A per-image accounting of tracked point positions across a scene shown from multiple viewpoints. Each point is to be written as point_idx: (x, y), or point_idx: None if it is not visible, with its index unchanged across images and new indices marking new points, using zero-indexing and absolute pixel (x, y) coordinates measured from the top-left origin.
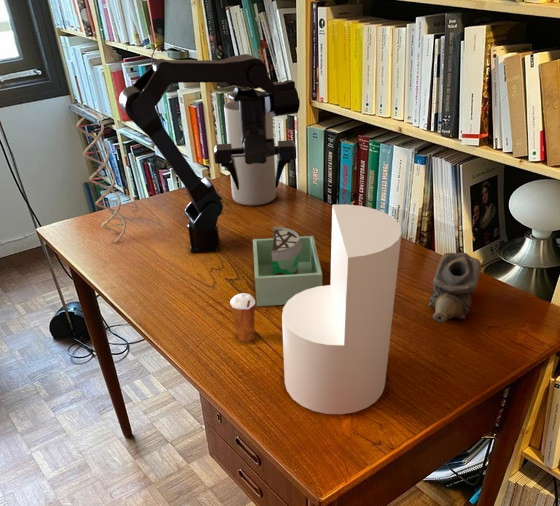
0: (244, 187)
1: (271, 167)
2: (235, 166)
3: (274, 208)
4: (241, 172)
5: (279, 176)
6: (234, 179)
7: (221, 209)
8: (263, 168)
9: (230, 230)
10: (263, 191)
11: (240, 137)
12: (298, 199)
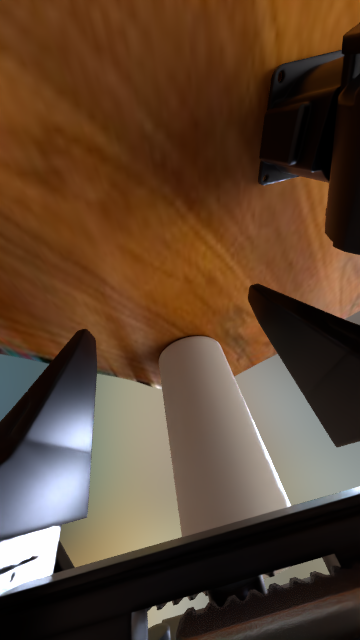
0: (208, 360)
1: (167, 405)
2: (308, 388)
3: (152, 336)
4: (221, 384)
5: (39, 380)
6: (305, 308)
7: (351, 102)
8: (181, 401)
9: (223, 246)
10: (175, 360)
11: (247, 468)
12: (123, 363)
